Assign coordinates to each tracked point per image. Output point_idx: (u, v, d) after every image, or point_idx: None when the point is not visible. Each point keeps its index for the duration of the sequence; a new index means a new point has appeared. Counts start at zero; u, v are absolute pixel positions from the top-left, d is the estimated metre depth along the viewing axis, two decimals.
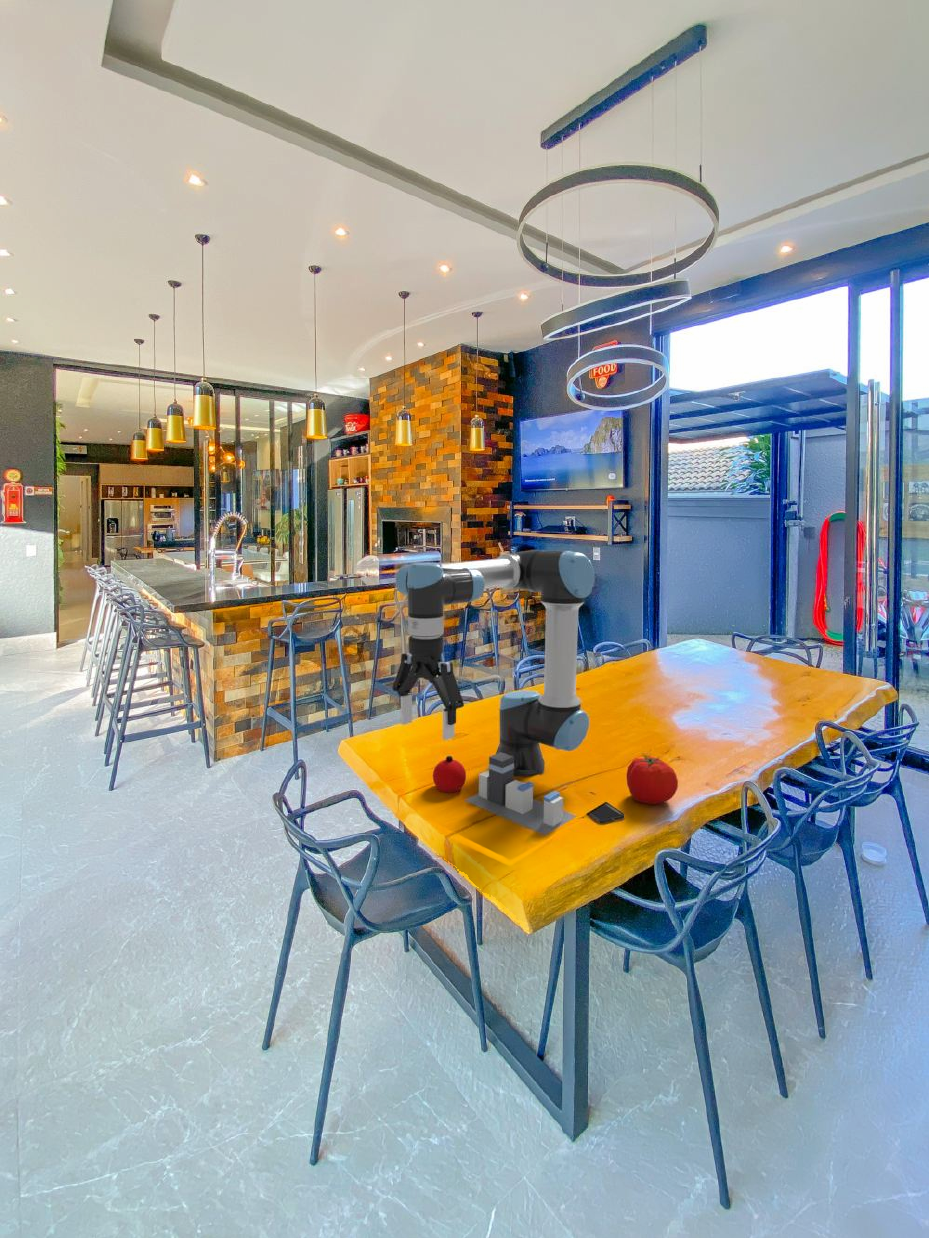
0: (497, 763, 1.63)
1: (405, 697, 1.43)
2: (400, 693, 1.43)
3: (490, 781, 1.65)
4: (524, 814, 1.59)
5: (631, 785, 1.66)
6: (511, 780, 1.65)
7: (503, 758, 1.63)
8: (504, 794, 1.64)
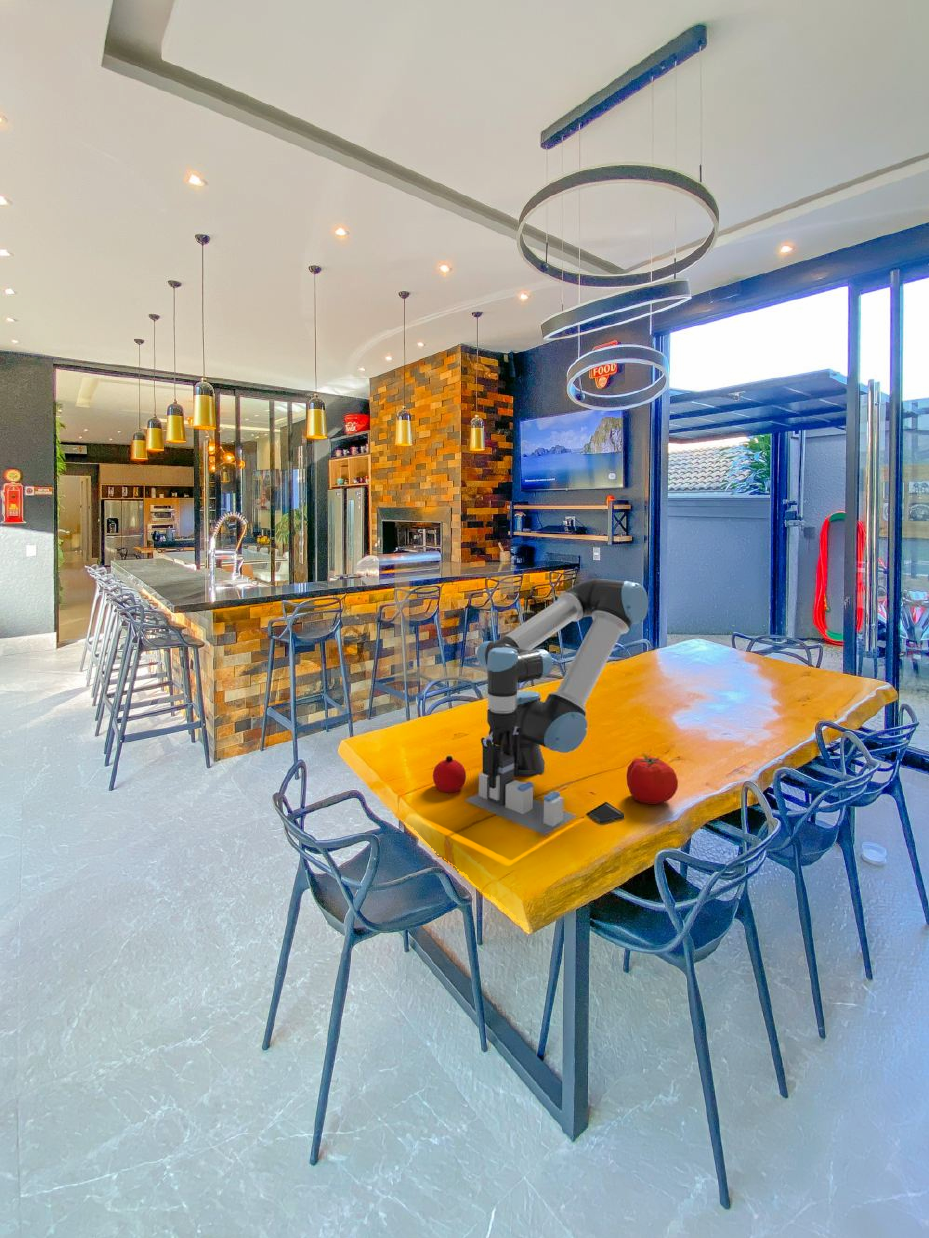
0: None
1: None
2: None
3: None
4: (524, 814, 1.59)
5: (631, 785, 1.66)
6: (511, 780, 1.65)
7: (503, 758, 1.63)
8: (504, 794, 1.64)
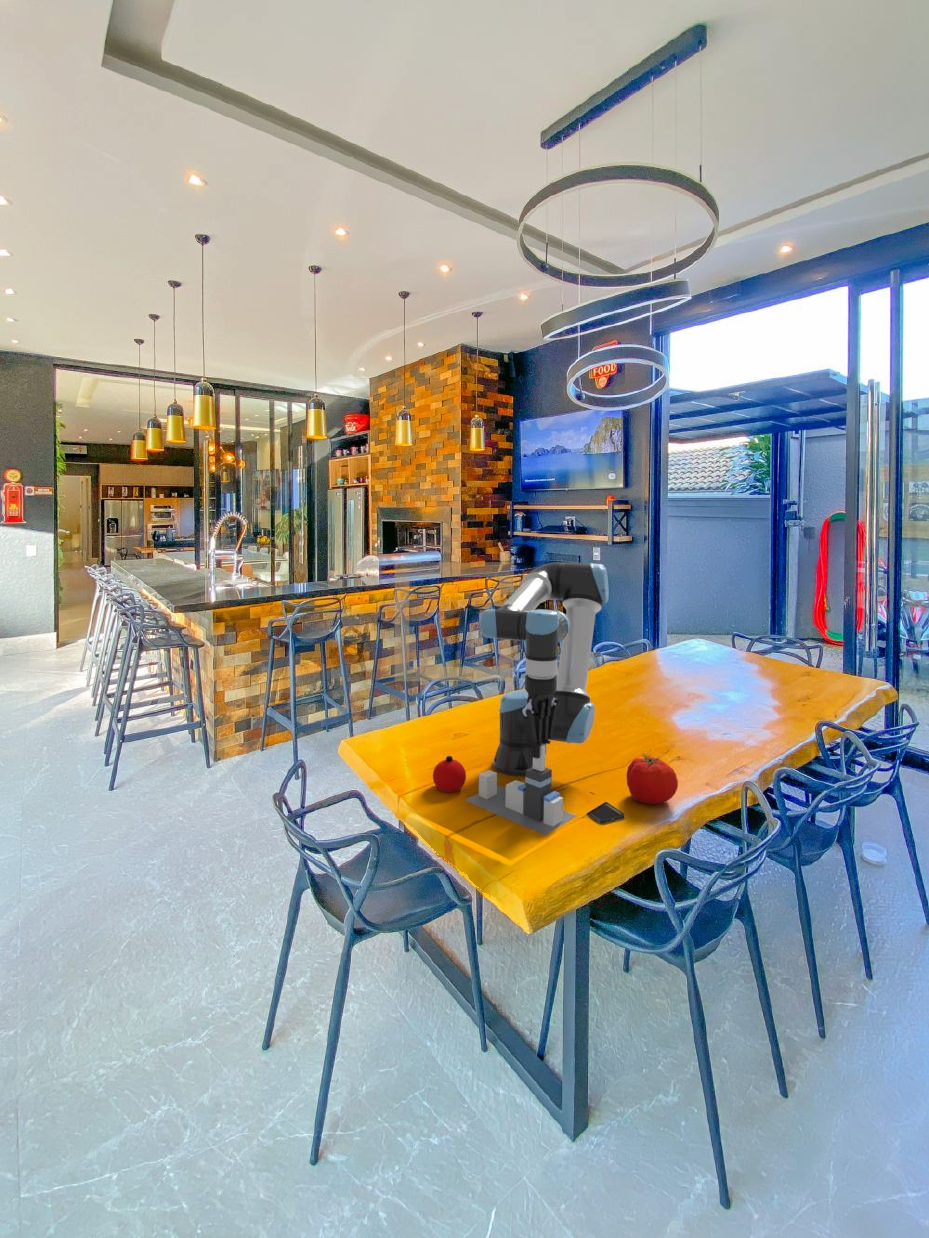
0: (535, 777, 1.54)
1: None
2: None
3: (527, 796, 1.57)
4: (524, 814, 1.59)
5: (631, 785, 1.66)
6: None
7: (540, 772, 1.55)
8: (542, 809, 1.56)
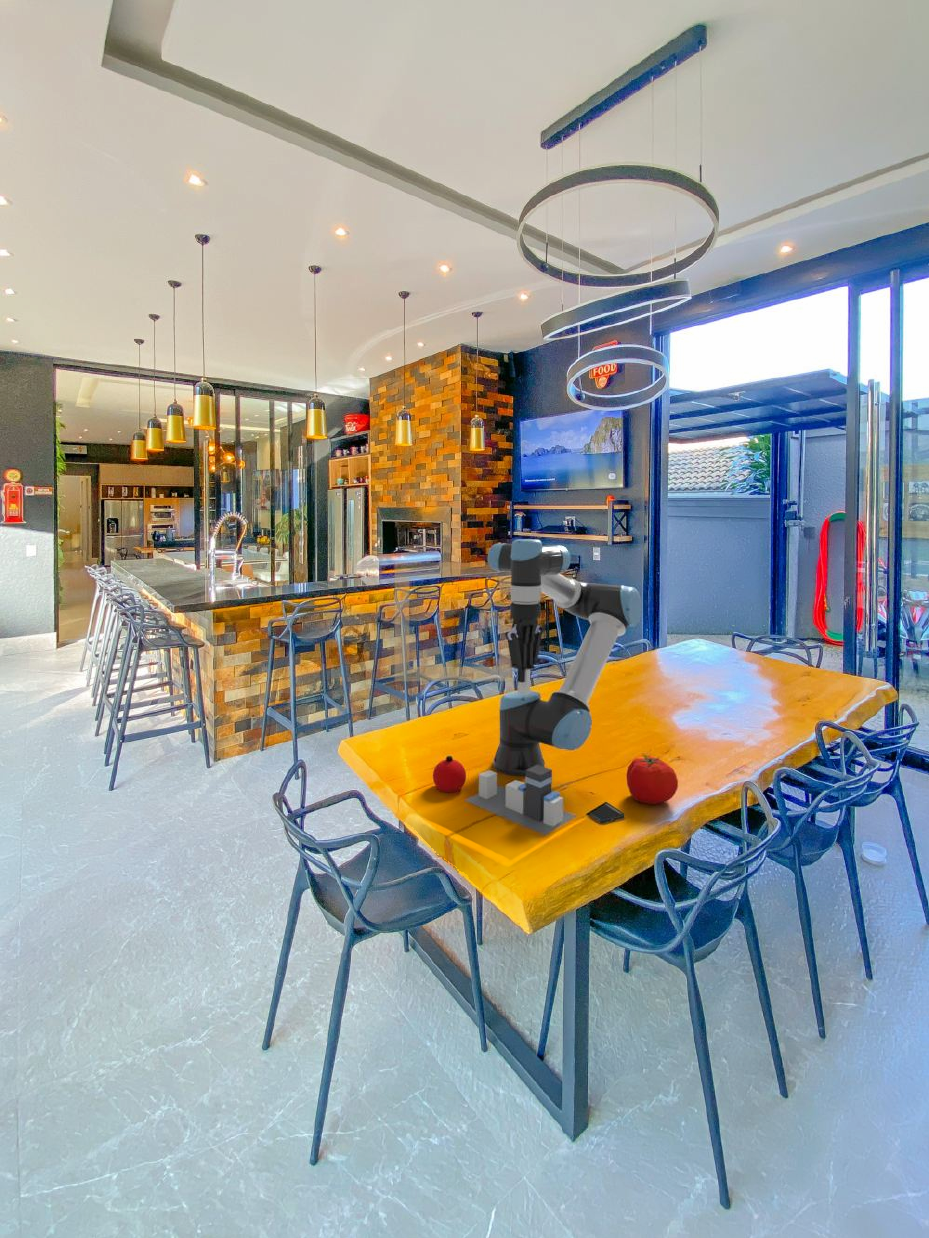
0: (535, 777, 1.54)
1: None
2: None
3: (527, 796, 1.57)
4: (524, 814, 1.59)
5: (631, 785, 1.66)
6: None
7: (541, 772, 1.55)
8: (542, 809, 1.56)
